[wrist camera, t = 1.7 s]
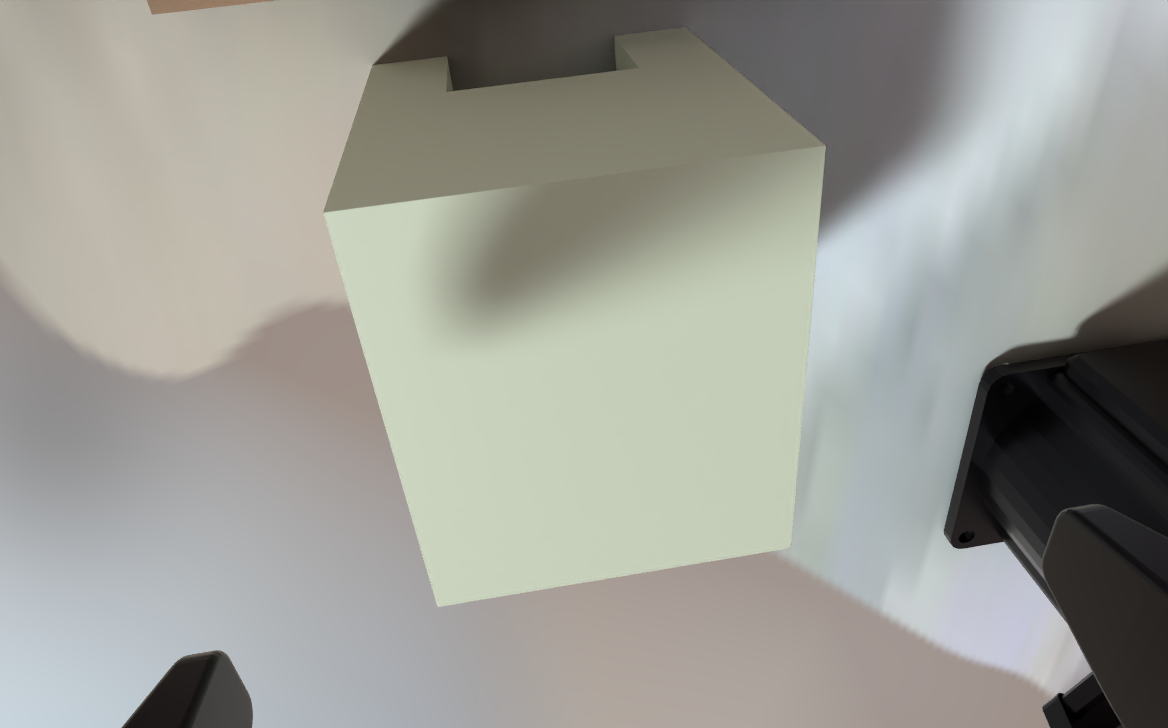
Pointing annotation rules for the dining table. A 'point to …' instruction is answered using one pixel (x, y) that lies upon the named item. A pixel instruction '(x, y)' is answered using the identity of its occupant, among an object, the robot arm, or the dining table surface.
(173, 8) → the cleat board
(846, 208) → the dining table surface
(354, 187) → the block
